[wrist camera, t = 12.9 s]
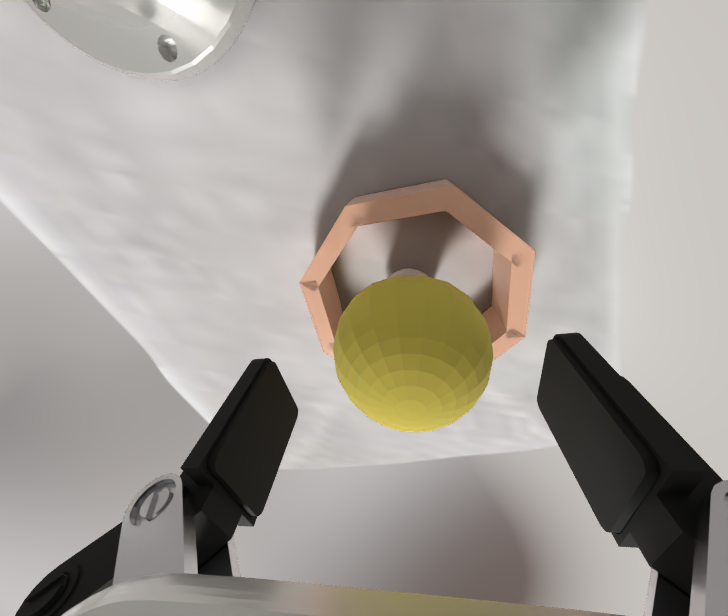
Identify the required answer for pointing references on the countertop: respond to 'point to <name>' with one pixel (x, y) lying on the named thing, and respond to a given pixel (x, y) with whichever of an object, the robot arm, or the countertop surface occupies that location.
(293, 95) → the countertop surface
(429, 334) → the light bulb
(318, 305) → the terracotta ring
